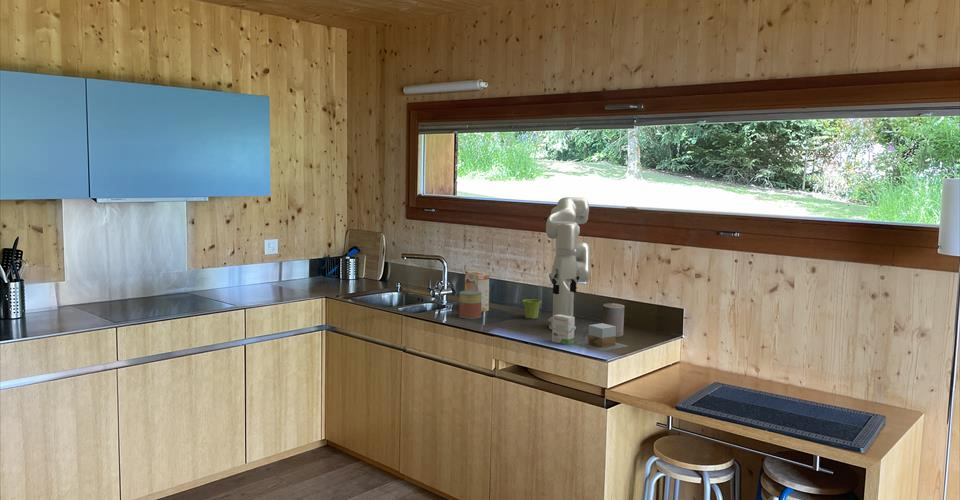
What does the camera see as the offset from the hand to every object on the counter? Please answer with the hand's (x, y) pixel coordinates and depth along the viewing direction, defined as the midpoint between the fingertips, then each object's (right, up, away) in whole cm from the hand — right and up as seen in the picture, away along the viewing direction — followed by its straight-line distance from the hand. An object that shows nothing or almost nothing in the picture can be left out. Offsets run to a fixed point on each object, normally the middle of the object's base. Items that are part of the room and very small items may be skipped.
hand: (564, 292), depth 305 cm
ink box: (0, -22, +3) cm, 22 cm away
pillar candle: (+24, -20, +19) cm, 36 cm away
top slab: (+16, -18, -1) cm, 24 cm away
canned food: (-41, -15, +56) cm, 71 cm away
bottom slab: (+16, -22, -1) cm, 27 cm away
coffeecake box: (-38, -13, +75) cm, 85 cm away
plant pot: (-10, -16, +55) cm, 58 cm away
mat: (+16, -22, -1) cm, 27 cm away
